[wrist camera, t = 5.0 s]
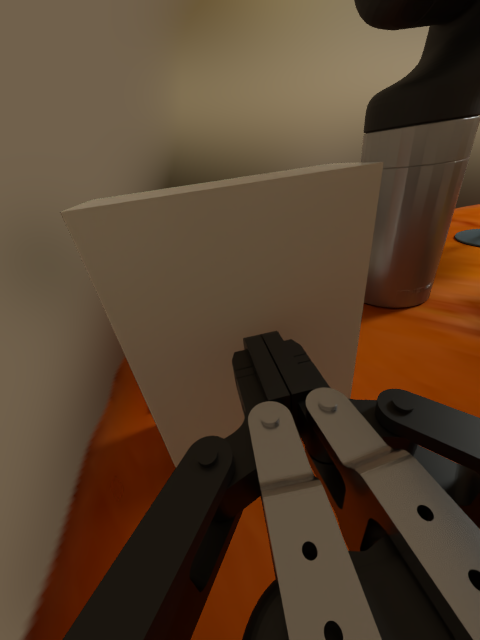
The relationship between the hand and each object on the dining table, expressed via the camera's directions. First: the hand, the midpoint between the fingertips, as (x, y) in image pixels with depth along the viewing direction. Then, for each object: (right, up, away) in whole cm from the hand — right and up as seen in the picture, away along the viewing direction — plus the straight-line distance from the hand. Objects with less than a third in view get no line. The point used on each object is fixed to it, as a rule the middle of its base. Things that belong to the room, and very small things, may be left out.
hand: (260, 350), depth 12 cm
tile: (0, -6, +8) cm, 10 cm away
